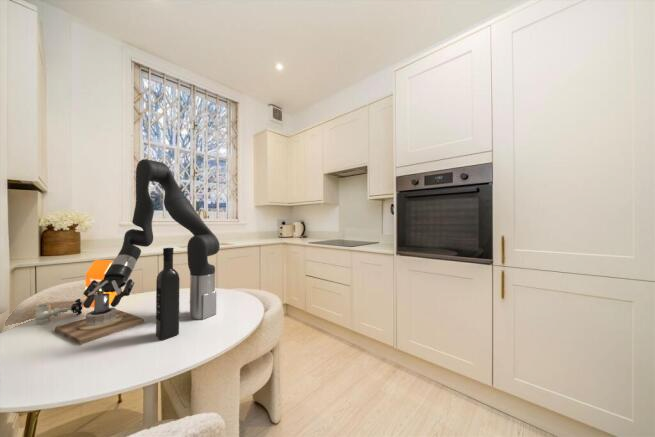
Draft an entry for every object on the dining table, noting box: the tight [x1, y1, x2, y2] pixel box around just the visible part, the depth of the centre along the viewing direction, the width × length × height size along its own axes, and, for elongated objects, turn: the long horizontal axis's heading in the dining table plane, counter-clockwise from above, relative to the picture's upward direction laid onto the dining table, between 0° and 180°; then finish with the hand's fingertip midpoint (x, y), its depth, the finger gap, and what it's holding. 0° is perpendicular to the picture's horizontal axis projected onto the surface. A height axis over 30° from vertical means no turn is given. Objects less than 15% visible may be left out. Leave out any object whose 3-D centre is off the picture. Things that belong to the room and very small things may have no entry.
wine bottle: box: [155, 247, 181, 341], centre depth 82 cm, size 6×6×30 cm
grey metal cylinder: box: [93, 293, 110, 315], centre depth 88 cm, size 4×4×10 cm
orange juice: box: [84, 259, 117, 307], centre depth 112 cm, size 8×9×20 cm
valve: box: [34, 298, 83, 326], centre depth 94 cm, size 7×7×12 cm
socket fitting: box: [54, 307, 145, 346], centre depth 88 cm, size 20×18×6 cm
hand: (99, 306), depth 87 cm, fingers open, 8 cm apart
